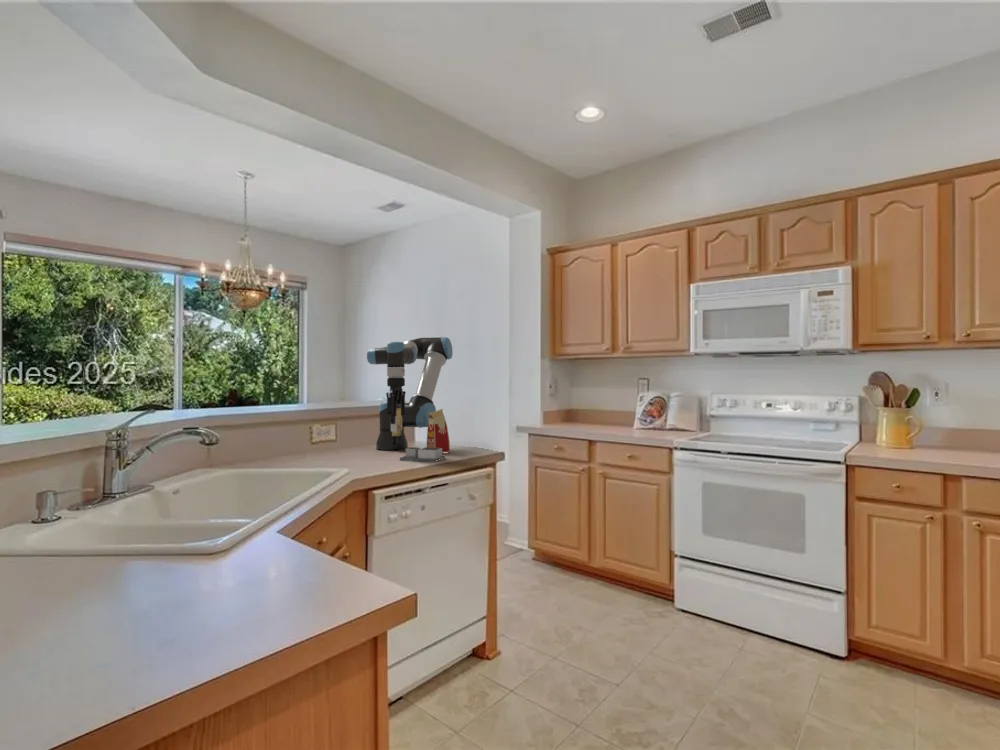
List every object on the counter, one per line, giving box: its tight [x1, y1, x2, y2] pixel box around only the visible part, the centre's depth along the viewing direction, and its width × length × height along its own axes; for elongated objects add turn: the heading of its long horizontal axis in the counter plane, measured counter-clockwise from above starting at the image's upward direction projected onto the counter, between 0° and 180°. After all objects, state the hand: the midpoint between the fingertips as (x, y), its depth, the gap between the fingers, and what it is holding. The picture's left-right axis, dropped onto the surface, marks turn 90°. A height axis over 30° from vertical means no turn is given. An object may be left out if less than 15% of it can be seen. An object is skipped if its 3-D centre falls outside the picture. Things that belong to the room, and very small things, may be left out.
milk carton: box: [426, 408, 451, 454], centre depth 236 cm, size 9×9×20 cm
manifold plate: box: [399, 446, 446, 462], centre depth 216 cm, size 10×16×4 cm, turn 73°
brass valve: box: [392, 403, 401, 436], centre depth 225 cm, size 4×4×14 cm
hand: (396, 430), depth 225 cm, fingers closed on brass valve, 4 cm apart
